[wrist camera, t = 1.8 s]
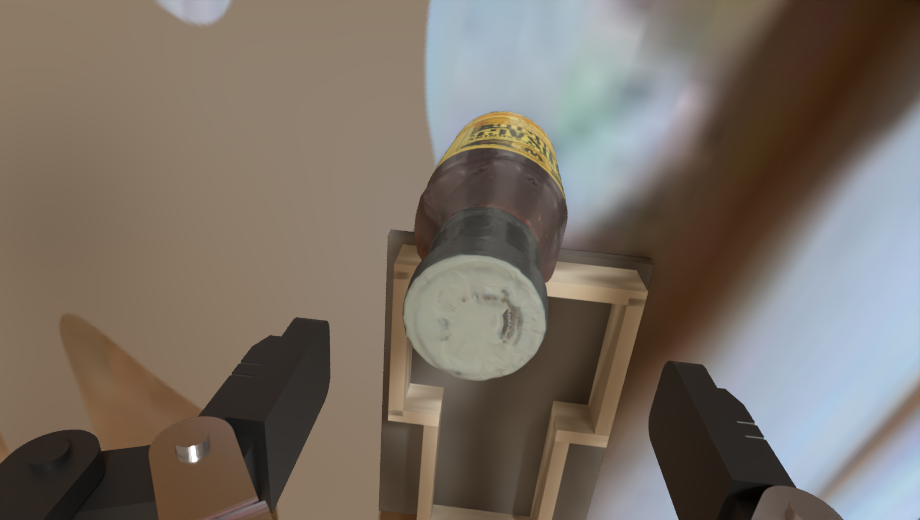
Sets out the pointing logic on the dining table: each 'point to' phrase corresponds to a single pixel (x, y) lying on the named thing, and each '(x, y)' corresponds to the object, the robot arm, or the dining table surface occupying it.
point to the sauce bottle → (486, 249)
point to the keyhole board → (510, 401)
